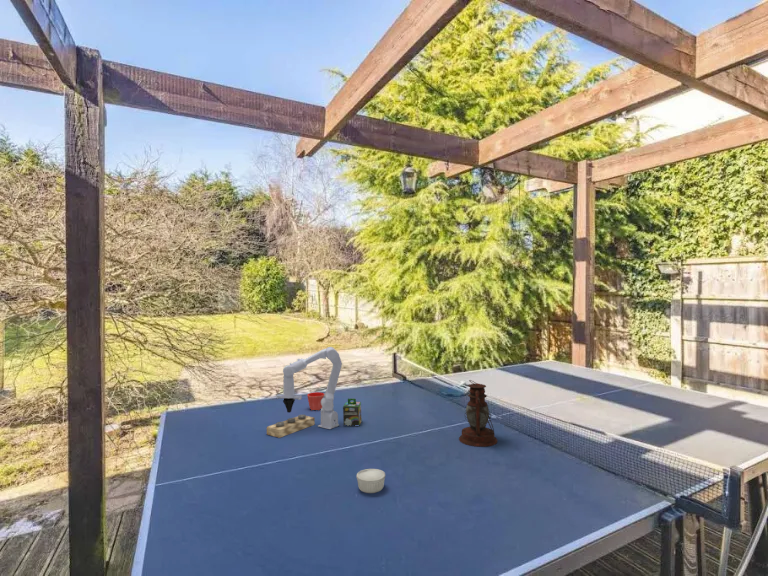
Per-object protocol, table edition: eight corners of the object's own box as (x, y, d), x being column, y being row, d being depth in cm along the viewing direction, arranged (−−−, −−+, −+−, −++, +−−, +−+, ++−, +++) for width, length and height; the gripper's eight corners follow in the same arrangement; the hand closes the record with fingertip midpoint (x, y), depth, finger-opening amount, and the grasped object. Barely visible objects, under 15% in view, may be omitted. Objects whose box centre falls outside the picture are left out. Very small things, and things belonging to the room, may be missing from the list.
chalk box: (361, 421, 248) (361, 396, 249) (359, 426, 239) (358, 400, 239) (346, 421, 249) (345, 395, 249) (343, 426, 240) (342, 400, 240)
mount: (302, 421, 250) (302, 414, 250) (314, 424, 244) (314, 417, 244) (266, 434, 228) (266, 426, 229) (279, 437, 223) (279, 430, 223)
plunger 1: (286, 431, 230) (286, 422, 230) (279, 434, 227) (279, 424, 227) (280, 430, 233) (280, 421, 233) (274, 432, 229) (274, 423, 229)
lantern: (498, 448, 204) (497, 385, 204) (458, 445, 207) (457, 383, 208) (496, 434, 222) (495, 377, 222) (459, 432, 226) (458, 376, 226)
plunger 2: (297, 427, 237) (297, 418, 237) (291, 429, 233) (291, 420, 233) (291, 426, 239) (291, 417, 239) (285, 428, 236) (285, 419, 236)
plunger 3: (307, 423, 243) (307, 415, 243) (301, 425, 240) (301, 417, 240) (302, 422, 246) (301, 414, 246) (296, 424, 242) (296, 416, 242)
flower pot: (323, 411, 271) (323, 396, 271) (306, 411, 271) (305, 396, 271) (325, 406, 282) (325, 392, 282) (309, 407, 282) (309, 392, 282)
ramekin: (369, 479, 173) (369, 465, 173) (391, 486, 165) (391, 473, 165) (350, 489, 164) (350, 475, 164) (372, 497, 157) (372, 483, 157)
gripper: (304, 386, 238) (304, 410, 238) (280, 385, 242) (281, 409, 242) (298, 389, 231) (298, 414, 231) (274, 388, 235) (274, 412, 235)
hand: (289, 412), depth 236 cm, fingers closed
